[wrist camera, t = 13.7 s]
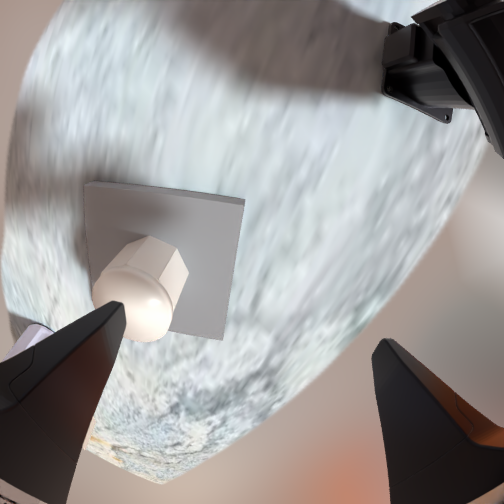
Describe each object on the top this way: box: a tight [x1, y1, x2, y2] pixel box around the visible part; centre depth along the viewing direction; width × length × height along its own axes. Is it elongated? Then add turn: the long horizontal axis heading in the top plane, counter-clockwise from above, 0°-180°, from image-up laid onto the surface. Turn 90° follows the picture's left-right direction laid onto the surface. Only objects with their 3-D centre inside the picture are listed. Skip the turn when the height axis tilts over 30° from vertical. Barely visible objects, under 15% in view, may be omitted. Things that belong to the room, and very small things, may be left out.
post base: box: [84, 181, 245, 340], centre depth 19 cm, size 12×12×6 cm
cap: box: [92, 235, 189, 342], centre depth 17 cm, size 5×5×5 cm
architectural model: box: [82, 417, 96, 450], centre depth 32 cm, size 3×7×7 cm, turn 167°
